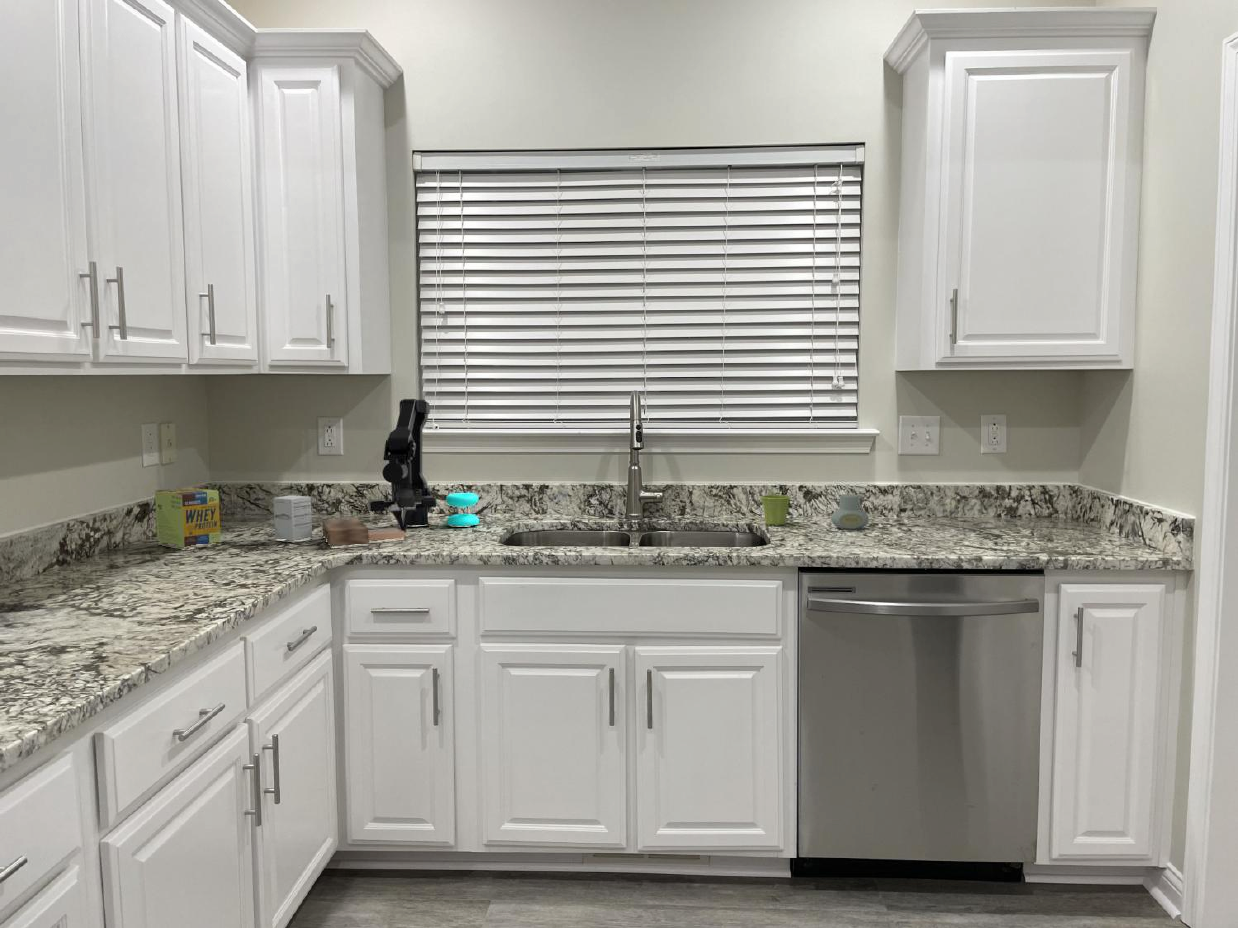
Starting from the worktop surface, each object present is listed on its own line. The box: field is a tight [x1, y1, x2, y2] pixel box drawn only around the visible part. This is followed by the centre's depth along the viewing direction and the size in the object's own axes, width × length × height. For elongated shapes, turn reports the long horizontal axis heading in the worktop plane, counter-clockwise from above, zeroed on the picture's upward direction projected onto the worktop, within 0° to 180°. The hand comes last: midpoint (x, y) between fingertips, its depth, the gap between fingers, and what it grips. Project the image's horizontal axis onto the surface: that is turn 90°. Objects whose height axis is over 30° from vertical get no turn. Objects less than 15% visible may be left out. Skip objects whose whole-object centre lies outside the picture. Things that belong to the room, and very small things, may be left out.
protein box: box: [154, 487, 222, 547], centre depth 248 cm, size 10×15×16 cm
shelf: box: [321, 518, 369, 547], centre depth 252 cm, size 10×20×5 cm, turn 24°
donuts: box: [445, 492, 480, 526], centre depth 279 cm, size 10×10×10 cm
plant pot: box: [759, 494, 792, 526], centre depth 277 cm, size 9×9×9 cm
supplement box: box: [273, 495, 313, 540], centre depth 254 cm, size 7×7×13 cm
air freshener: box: [830, 493, 870, 531], centre depth 267 cm, size 11×8×10 cm
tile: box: [368, 527, 406, 541], centre depth 253 cm, size 15×8×3 cm, turn 120°
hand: (403, 533), depth 258 cm, fingers closed
